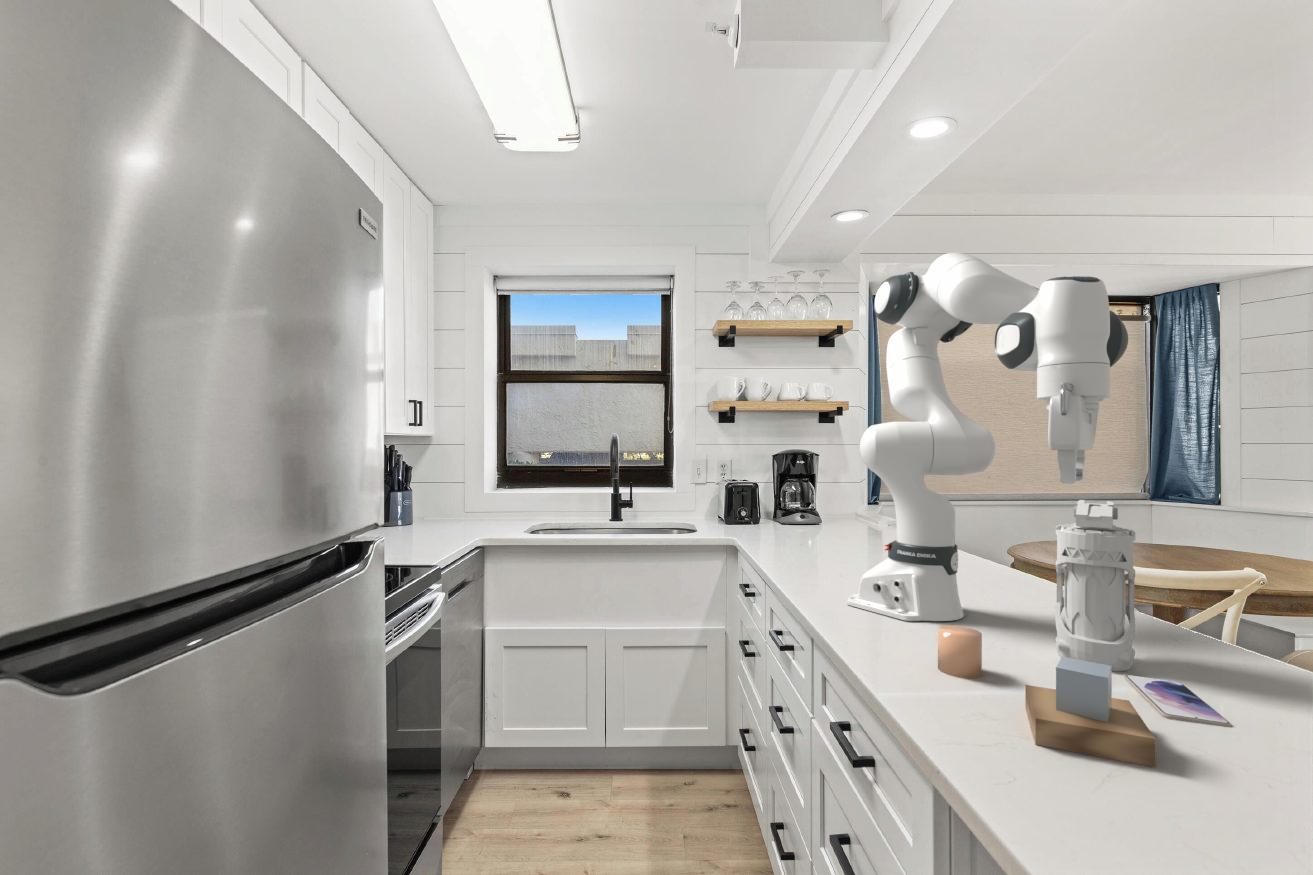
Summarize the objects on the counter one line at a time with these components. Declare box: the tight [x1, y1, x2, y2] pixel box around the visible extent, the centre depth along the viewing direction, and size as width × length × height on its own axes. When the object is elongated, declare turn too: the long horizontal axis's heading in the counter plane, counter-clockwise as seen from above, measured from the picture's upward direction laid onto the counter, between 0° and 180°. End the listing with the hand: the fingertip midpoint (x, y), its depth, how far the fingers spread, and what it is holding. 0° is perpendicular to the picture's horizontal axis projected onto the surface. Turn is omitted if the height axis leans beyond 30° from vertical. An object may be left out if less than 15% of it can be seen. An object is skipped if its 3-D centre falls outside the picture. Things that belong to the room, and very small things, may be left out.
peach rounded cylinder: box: [937, 625, 983, 679], centre depth 94 cm, size 6×6×6 cm
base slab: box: [1024, 684, 1156, 768], centre depth 74 cm, size 11×11×3 cm
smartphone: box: [1123, 674, 1232, 728], centre depth 84 cm, size 7×1×15 cm
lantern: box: [1055, 499, 1136, 672], centre depth 100 cm, size 13×10×25 cm
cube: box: [1055, 657, 1113, 722], centre depth 74 cm, size 5×5×5 cm
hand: (1071, 481), depth 90 cm, fingers open, 8 cm apart
